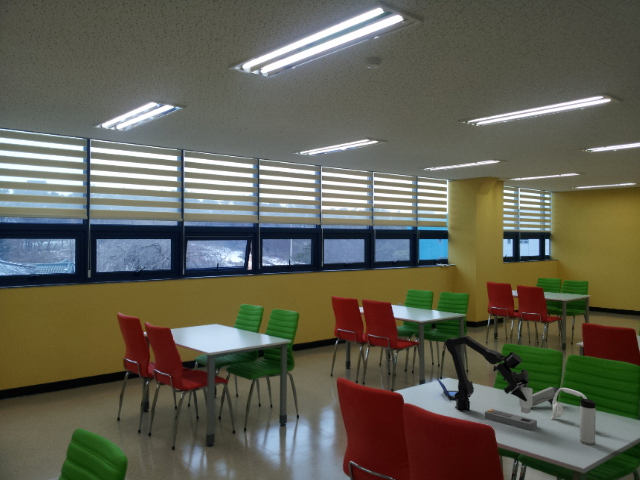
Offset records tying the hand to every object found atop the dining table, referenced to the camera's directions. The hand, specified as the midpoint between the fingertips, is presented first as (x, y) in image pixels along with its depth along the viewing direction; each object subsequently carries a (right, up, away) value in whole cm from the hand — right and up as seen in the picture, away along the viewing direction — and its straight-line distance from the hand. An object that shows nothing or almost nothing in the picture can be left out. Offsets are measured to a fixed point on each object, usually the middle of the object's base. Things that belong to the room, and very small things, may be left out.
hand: (528, 400), depth 247 cm
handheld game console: (-26, -14, +50) cm, 58 cm away
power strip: (-7, -13, +6) cm, 16 cm away
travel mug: (+19, -14, -19) cm, 30 cm away
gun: (+21, -15, +33) cm, 42 cm away
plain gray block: (-1, -7, +1) cm, 7 cm away
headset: (+24, -14, +4) cm, 28 cm away
